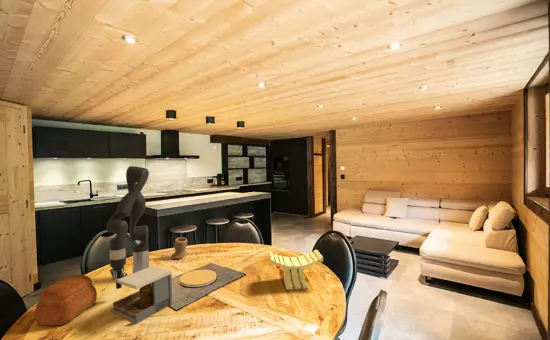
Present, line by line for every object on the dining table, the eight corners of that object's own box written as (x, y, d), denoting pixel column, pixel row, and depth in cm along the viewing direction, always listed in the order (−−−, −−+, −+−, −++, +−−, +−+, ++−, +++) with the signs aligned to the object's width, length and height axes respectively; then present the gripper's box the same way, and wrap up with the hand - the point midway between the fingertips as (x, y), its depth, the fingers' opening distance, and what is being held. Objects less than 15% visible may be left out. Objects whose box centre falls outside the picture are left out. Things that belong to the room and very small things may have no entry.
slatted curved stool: (316, 275, 167) (315, 248, 167) (323, 287, 151) (322, 256, 151) (269, 278, 164) (269, 250, 164) (272, 290, 148) (271, 259, 148)
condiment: (156, 304, 136) (155, 281, 135) (140, 312, 128) (140, 288, 128) (147, 300, 139) (147, 278, 139) (132, 308, 132) (131, 285, 132)
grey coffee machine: (109, 311, 129) (108, 276, 129) (145, 294, 146) (144, 263, 146) (137, 324, 119) (136, 286, 118) (172, 304, 135) (171, 270, 135)
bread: (30, 327, 118) (28, 290, 118) (69, 302, 140) (68, 271, 139) (67, 327, 117) (65, 290, 117) (101, 302, 139) (100, 271, 138)
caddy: (113, 309, 131) (113, 302, 131) (142, 295, 145) (142, 289, 145) (137, 320, 121) (137, 313, 121) (167, 304, 135) (166, 297, 135)
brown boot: (185, 259, 200) (184, 240, 200) (169, 260, 200) (168, 240, 199) (190, 253, 215) (190, 235, 215) (176, 253, 215) (175, 235, 214)
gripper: (104, 256, 141) (105, 288, 141) (117, 261, 134) (118, 294, 135) (118, 252, 147) (119, 282, 148) (131, 256, 140) (132, 288, 141)
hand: (118, 288), depth 141 cm, fingers closed
